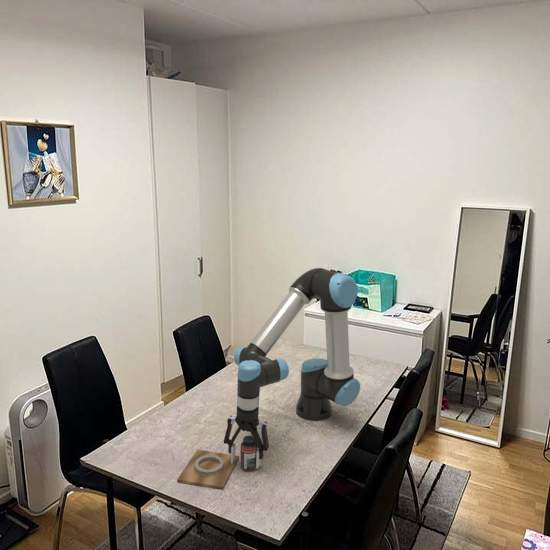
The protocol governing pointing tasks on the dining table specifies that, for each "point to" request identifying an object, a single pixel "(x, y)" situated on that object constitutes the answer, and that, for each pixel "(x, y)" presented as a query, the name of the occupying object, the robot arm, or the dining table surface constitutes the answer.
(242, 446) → the supplement bottle
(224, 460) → the ring board
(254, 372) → the robot arm
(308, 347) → the dining table surface
